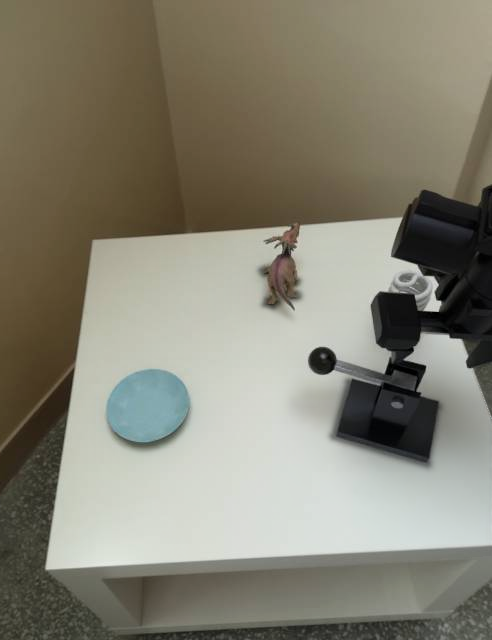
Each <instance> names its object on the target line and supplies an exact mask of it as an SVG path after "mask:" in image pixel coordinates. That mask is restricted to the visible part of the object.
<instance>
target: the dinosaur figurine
mask: <svg viewBox="0 0 492 640" xmlns="http://www.w3.org/2000/svg"><path fill="white" fill-rule="evenodd" d="M287 227H290V228H289V229H287V230H285V231H284V232H283V233H282V235H278V236H276V235H275V236H272V237H269V238H267V239H264V240H263V241H262V242H263V243H265V245H268V244H272V243H274V242H277V241H278V242H277V243H276V244H275V245H274V247H273V248H274V249H277V248H279V246H281V249H282V250H281V253H279V254H277V255H276V257H275V258H274V260H273V261H272V262H271V264H270V267H265V268H264V269H263V273H265V274H267V273H268V275H267V283H268V288H269V293H270V294H271V298H266V302H265V305H266V304H267V305H274V304H276V302H277V301H278V297H279V298H280V299H281V300H282V302H284V303H286V305H288V306H289V307H290V308H291V309H292V310H293V311H294V312H295V311H296V308H295V306H294V304H293V302H292V301H291V300H290V298H300V297H299V296H300V295H299V294H298V292H297V291H294V287H295V284H297V283H298V270H297V269H296V268H297V265H296V262H295V259H294V258H293V256H292V252H295V251H294V250H296V249H297V248H298V245H297V244H298V237H299V235H300V230H301V224H300V222H295V223H289V224H288V225H287ZM284 287H285V289H286V292H285V290H284ZM288 297H290V298H288Z"/></svg>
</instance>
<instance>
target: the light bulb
mask: <svg viewBox="0 0 492 640" xmlns="http://www.w3.org/2000/svg"><path fill="white" fill-rule="evenodd" d="M433 287H434V286H433V282H432V280H431V279H430V278H429V276H423V275H422V273H421V272H419V271H417V270H412V269H403V270H400V271H398V272H397V273H395V275H394V276H393V279H392V280H391V282H390V286H389V288H388V291H387V292H402V293H412V294H415V299H416V304H417V308H418V311H425V309H426V308H427V306H428V304H429V303H430V300H431V297H432V294H433Z"/></svg>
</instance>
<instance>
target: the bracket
mask: <svg viewBox="0 0 492 640" xmlns="http://www.w3.org/2000/svg"><path fill="white" fill-rule="evenodd" d="M394 370H398V371H401V372H404V373H408V374H411V375H414V376H417V380H416V385H415V390H414V391H413V390H409V389H405V388H402V387H398V386H394V385H390V384H386V383H383V385H380V384H376V383H372V382H369V381H365V380H360V379H356V378H351V379H350V385H349V388H348V392H347V395H346V399H345V402H344V406H343V410H342V413H341V417H340V421H339V423H338V427H337V431H336V435H335V436H336V437H338V438H341V439H344V440H349V441H352V442H356V443H359V444H362V445H366V446H369V447H372V448H375V449H380V450H381V451H382V450H383V451H386V452H389V453H392V454H396V455H400V456H403V457H407V458H410V459H413V460H417V461H420V462H424V463H428V461H429V460H430V454H431V451H432V450H431V449H432V444H433V440H434V439H433V438H434V432H435V427H436V421H437V415H438V410H439V403H440V401H439V400H435V399H432V398H428V397H424V396H422V392H420V391H418V389H419V387H420V385H421V382H422V381H423V378H424V376H425V374H426V370H427V364H422V363H418V362H414V361H409V360H406V359H404V360H402V361H401V362H400V363H398V364H396V365H394V364H392V360H391V356H389V358H388V361H387V364H386V366H385V369H384V372H383V374H386V375H390V376H391V375H392V373H393V371H394Z"/></svg>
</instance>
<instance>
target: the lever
mask: <svg viewBox="0 0 492 640" xmlns="http://www.w3.org/2000/svg"><path fill="white" fill-rule="evenodd" d="M307 364H308V367H309V369H310V370H311V372H313V373H314V374H316V375H318V376H326V375H329V374H331V373H332V372H333V371H336V372H338V373H342V374H345V375H349V376H351V377H355V378H358V379H361V380H363V381H366V382H370V383H373V384H376V385H379V386H380V385H383V383H386V384H390V385H394V386H398V387H402V388H405V389H409V390H413V391H414V390H415V385H416V380H417V376H414V375H411V374H408V373H404V372H401V371H398V370H394V371H393V373H392V375H391V376H390V375H386V374H384V372H379V371H376V370H374V369H369V368H367V367H363V366H359V365H356V364H353V363H350V362H347V361H343V360H341V359H338V357H337V354H336V353H335V352H334V350H333V349H331V348H330V347H327V346H318V347H315V348H314V349H312V350H311V351H310V352H309V355H308V357H307Z"/></svg>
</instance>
